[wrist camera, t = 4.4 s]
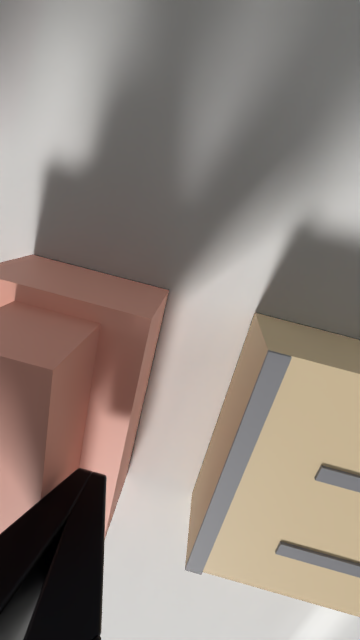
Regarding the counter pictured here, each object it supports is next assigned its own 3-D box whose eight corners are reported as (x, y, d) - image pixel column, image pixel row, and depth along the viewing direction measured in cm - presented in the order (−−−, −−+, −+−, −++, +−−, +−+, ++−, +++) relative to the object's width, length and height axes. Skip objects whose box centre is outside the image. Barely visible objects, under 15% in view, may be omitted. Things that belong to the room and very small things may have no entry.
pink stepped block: (169, 290, 11) (123, 365, 6) (126, 476, 14) (72, 632, 9) (32, 254, 11) (-136, 295, 6) (21, 446, 14) (-92, 583, 9)
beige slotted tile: (543, 387, 10) (669, 457, 7) (410, 555, 14) (462, 650, 11) (254, 312, 11) (268, 351, 8) (191, 494, 14) (185, 570, 11)
